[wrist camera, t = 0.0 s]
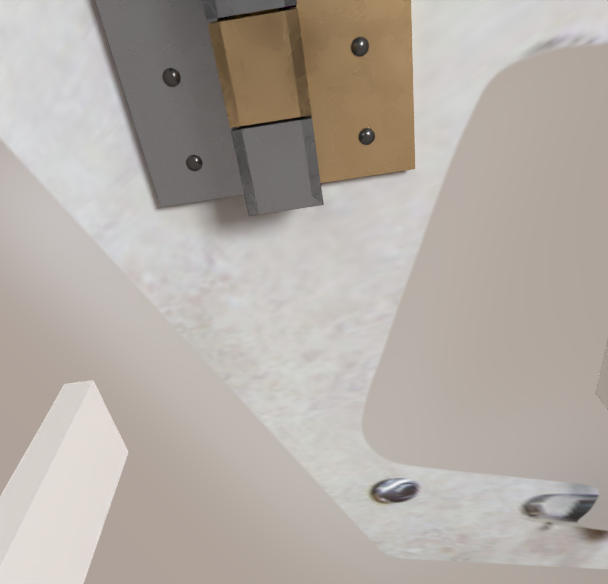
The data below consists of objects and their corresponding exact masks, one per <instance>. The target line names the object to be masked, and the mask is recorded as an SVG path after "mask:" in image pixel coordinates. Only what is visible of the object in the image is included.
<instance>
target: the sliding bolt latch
mask: <svg viewBox="0 0 608 584" xmlns="http://www.w3.org/2000/svg"><path fill="white" fill-rule="evenodd" d="M95 2H96V5H97V8H98V11H99V14H100V17H101V20H102V24H103V27H104V30H105V33H106V36H107V39H108V43H109V46H110V49H111V52H112V55H113V58H114V62H115V65H116V68H117V71H118V74H119V77H120V80H121V84H122V87H123V90H124V93H125V96H126V99H127V103H128V106H129V109H130V112H131V115H132V118H133V122H134V125H135V128H136V131H137V134H138V137H139V140H140V144H141V147H142V150H143V153H144V156H145V159H146V163H147V166H148V169H149V172H150V175H151V178H152V181H153V185H154V188H155V191H156V194H157V197H158V200H159V204H160V207H166V206H172V205H179V204H185V203H192V202H199V201H205V200H212V199H219V198H225V197H232V196H239V195H245V199H246V204H247V208H248V213H249V216H252V215H259V214H265V213H272V212H279V211H286V210H292V209H299V208H306V207H313V206H319V205H323V198H322V190H321V183H325V182H332V181H338V180H345V179H351V178H358V177H365V176H371V175H378V174H385V173H391V172H398V171H405V170H411V169H415V143H414V104H413V64H412V25H411V0H95ZM292 5H296V7H291V8H285V9H279V10H277V11H278V12H274V13H268V14H262V15H256V16H250V17H244V18H238V19H232V18H226V19H220V20H219V18H221V17H227V16H233V15H239V14H245V13H251V12H257V11H263V10H269V9H275V8H281V7H287V6H292Z"/></svg>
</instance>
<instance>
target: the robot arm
mask: <svg viewBox="0 0 608 584" xmlns="http://www.w3.org/2000/svg"><path fill="white" fill-rule="evenodd" d="M595 394H596V395H597V396H598V398H599V399H600V400H601V401H602V403H603V404H604V405H605V407H606V408H607V409H608V340H607V345H606V349H605V353H604V358H603V362H602V366H601V371H600V375H599V379H598V384H597V388H596V393H595ZM127 455H128V450H127V449H126V446H125V444H124V442H123V440H122V438H121V436H120V434H119V432H118V430H117V428H116V426H115V424H114V422H113V420H112V418H111V416H110V414H109V411H108V410H107V407H106V405H105V403H104V401H103V399H102V397H101V395H100V393H99V391H98V389H97V387H96V385H95V383H94V381H93V380H90V381H83V382H75V383H68V384H64V386H63V387H62V389H61V391H60V392H59V394H58V396H57V398H56V400H55V401H54V403H53V405H52V407H51V408H50V410H49V412H48V414H47V415H46V417H45V419H44V421H43V422H42V424H41V426H40V428H39V430H38V431H37V433H36V435H35V437H34V438H33V440H32V442H31V443H30V445H29V447H28V449H27V450H26V452H25V454H24V456H23V457H22V459H21V461H20V463H19V465H18V466H17V468H16V470H15V472H14V473H13V475H12V477H11V479H10V480H9V482H8V484H7V486H6V488H5V489H4V491H3V493H2V494H1V496H0V584H83V583H84V580H85V577H86V575H87V571H88V569H89V566H90V563H91V560H92V557H93V554H94V551H95V548H96V545H97V543H98V540H99V537H100V534H101V531H102V528H103V525H104V522H105V519H106V516H107V513H108V511H109V507H110V505H111V502H112V499H113V496H114V493H115V490H116V487H117V484H118V481H119V479H120V476H121V473H122V470H123V467H124V463H125V461H126V458H127Z"/></svg>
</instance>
